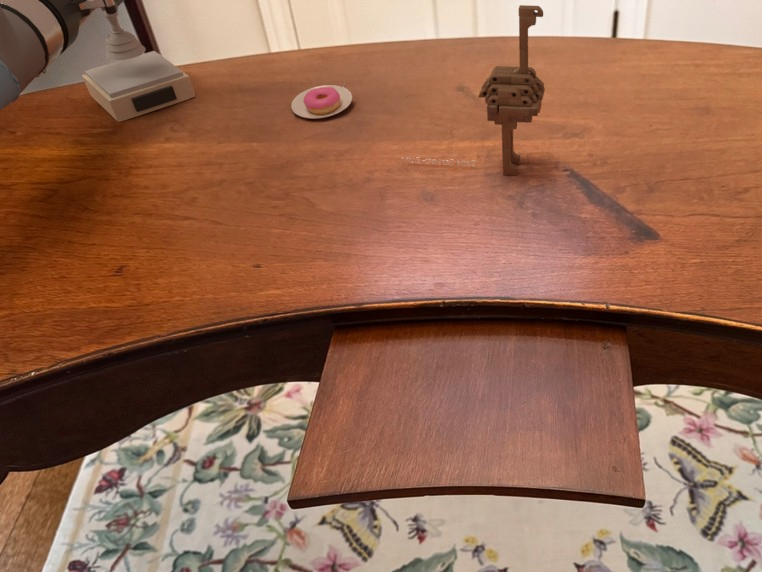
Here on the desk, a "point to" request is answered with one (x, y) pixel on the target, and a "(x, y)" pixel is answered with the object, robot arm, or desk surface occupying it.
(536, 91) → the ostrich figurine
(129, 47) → the chalice
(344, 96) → the donut
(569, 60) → the desk surface
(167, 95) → the scale
